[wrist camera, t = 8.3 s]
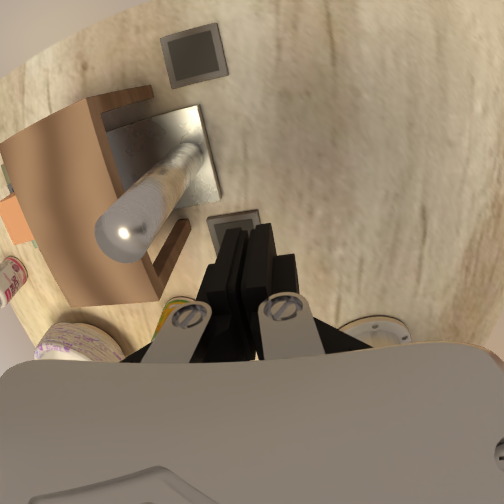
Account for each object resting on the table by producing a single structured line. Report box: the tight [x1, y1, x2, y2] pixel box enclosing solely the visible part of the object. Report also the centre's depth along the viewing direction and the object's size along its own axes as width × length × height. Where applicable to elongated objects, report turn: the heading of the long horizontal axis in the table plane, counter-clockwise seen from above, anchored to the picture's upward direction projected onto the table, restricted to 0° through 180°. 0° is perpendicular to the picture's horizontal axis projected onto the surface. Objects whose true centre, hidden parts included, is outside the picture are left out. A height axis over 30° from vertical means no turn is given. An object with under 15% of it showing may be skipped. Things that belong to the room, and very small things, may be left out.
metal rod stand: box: [7, 105, 222, 263], centre depth 23 cm, size 24×9×15 cm, turn 101°
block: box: [0, 192, 35, 245], centre depth 28 cm, size 5×5×5 cm
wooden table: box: [0, 23, 260, 307], centre depth 25 cm, size 30×23×11 cm
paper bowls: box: [34, 323, 126, 363], centre depth 41 cm, size 15×15×8 cm
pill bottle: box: [0, 257, 27, 308], centre depth 34 cm, size 5×5×8 cm
